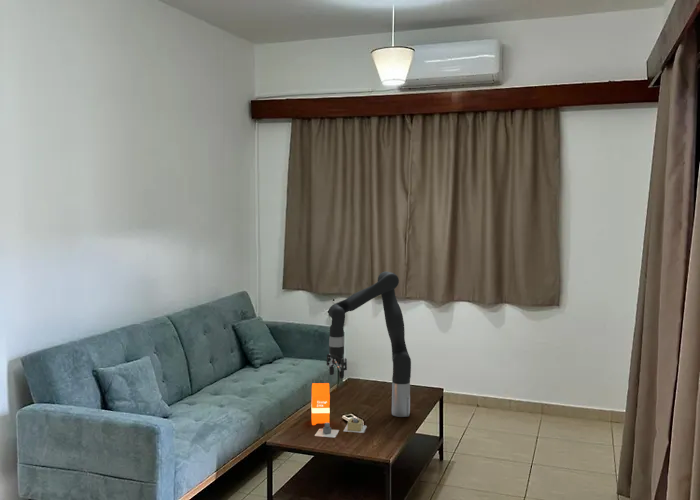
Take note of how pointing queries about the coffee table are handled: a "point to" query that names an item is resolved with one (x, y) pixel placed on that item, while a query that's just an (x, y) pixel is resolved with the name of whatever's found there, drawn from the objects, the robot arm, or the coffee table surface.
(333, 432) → the hub
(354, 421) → the rod stand
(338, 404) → the coffee table surface
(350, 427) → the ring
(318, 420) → the orange juice
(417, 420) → the coffee table surface
